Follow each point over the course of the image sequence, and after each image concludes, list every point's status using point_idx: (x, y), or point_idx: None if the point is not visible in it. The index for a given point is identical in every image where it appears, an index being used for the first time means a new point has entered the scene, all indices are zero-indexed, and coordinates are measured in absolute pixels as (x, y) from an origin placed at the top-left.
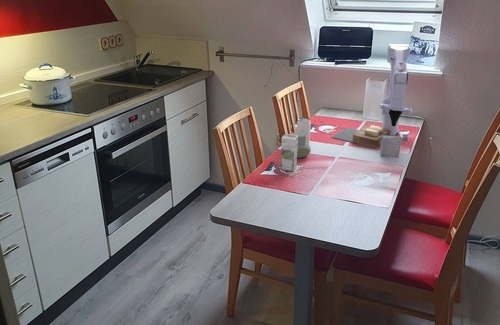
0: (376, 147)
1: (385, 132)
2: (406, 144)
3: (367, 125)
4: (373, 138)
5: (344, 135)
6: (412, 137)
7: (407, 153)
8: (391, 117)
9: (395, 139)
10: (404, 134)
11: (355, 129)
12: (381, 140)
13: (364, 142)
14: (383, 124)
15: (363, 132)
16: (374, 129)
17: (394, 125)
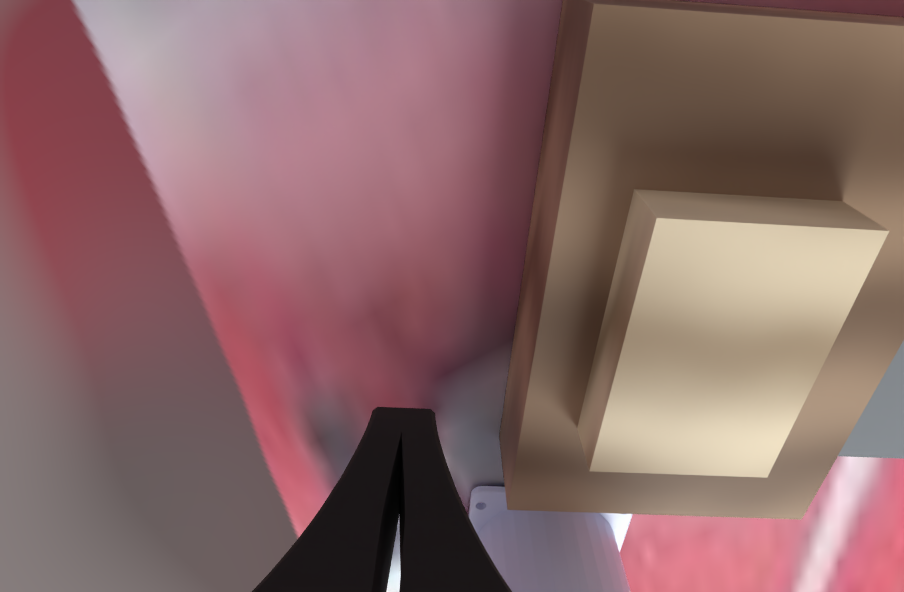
0: (562, 4)
1: (542, 408)
2: (266, 343)
3: (801, 510)
4: (673, 52)
5: None
6: (303, 528)
7: (94, 36)
8: (455, 560)
9: None
10: (394, 556)
11: (889, 457)
12: None
13: (783, 10)
14: (618, 590)
15: None
16: (718, 337)
17: (372, 420)
